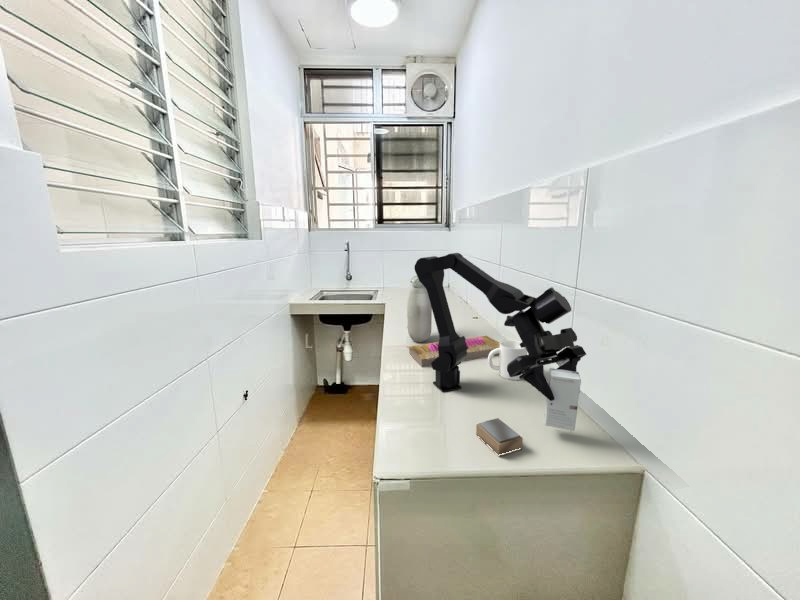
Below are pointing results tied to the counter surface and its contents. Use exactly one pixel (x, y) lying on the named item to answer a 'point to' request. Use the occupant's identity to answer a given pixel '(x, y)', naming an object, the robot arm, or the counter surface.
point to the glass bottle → (418, 312)
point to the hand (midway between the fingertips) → (565, 396)
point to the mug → (507, 356)
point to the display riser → (499, 436)
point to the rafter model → (472, 348)
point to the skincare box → (563, 399)
